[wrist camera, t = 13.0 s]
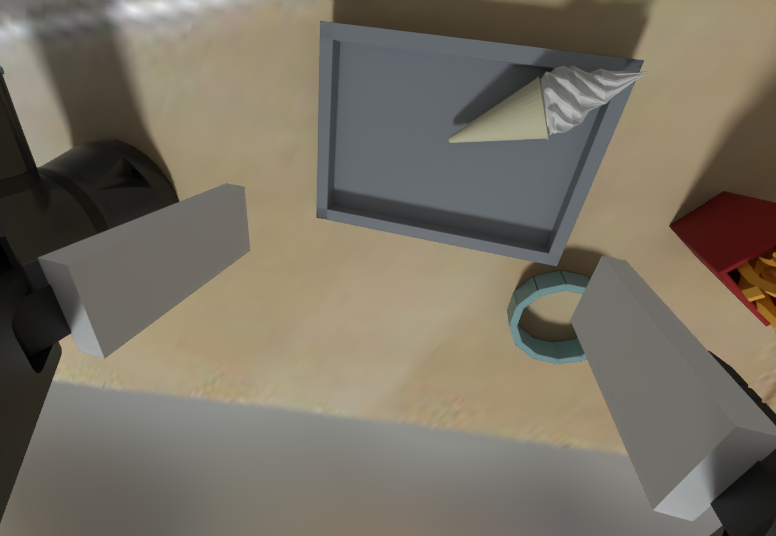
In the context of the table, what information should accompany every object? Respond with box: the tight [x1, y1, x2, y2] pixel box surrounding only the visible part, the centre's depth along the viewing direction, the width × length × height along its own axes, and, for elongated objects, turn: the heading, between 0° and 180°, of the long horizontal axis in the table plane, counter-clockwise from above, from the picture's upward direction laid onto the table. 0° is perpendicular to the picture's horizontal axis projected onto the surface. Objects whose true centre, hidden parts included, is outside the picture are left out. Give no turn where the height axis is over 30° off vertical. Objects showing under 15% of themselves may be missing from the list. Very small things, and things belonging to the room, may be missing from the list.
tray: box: [317, 21, 644, 266], centre depth 33 cm, size 26×18×3 cm
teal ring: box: [507, 271, 590, 364], centre depth 39 cm, size 11×11×3 cm
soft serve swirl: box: [448, 66, 647, 143], centre depth 28 cm, size 5×5×15 cm
